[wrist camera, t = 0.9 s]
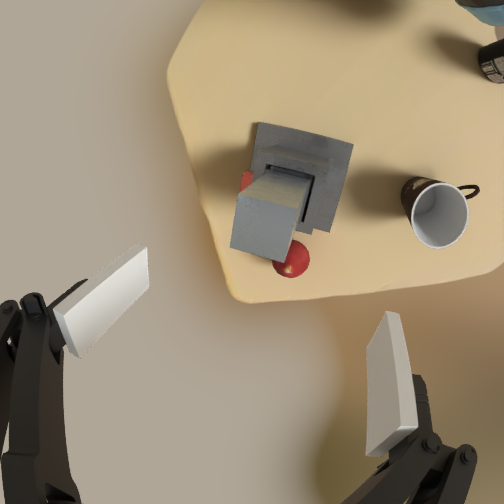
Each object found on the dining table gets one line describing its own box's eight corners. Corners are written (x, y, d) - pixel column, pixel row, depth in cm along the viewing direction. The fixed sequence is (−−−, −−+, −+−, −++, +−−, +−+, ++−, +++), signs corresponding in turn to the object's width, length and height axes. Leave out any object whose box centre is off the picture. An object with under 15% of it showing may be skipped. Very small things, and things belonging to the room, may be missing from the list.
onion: (288, 269, 48) (280, 295, 42) (270, 242, 47) (258, 264, 40) (317, 255, 46) (314, 279, 39) (299, 226, 45) (293, 246, 38)
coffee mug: (393, 222, 40) (408, 248, 31) (394, 168, 37) (412, 181, 28) (455, 223, 37) (481, 248, 28) (458, 172, 33) (488, 185, 25)
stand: (261, 122, 39) (236, 120, 29) (352, 143, 37) (362, 149, 26) (245, 206, 46) (219, 233, 35) (329, 229, 43) (328, 263, 33)
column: (282, 157, 39) (235, 190, 20) (315, 165, 38) (301, 206, 19) (276, 188, 41) (226, 249, 22) (308, 197, 41) (286, 266, 21)
